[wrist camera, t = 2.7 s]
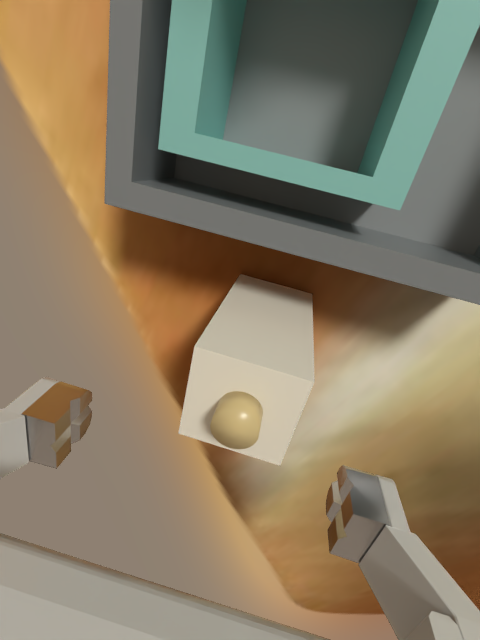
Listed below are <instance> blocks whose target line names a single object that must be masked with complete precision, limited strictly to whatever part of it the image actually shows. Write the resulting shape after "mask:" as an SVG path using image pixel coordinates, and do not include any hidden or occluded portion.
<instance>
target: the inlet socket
mask: <svg viewBox="0 0 480 640" xmlns="http://www.w3.org/2000/svg"><path fill="white" fill-rule="evenodd" d="M246 2H247V0H172V5H171V16H170V27H169V37H168V48H167V59H166V70H165V81H164V91H163V102H162V113H161V124H160V134H159V145H158V149H160V150H164V151H167V152H171V153H175V154H179V155H183V156H187V157H191V158H195V159H199V160H203V161H207V162H211V163H215V164H219V165H223V166H227V167H231V168H234V169H238V170H242V171H246V172H250V173H254V174H258V175H262V176H266V177H270V178H274V179H278V180H282V181H286V182H290V183H294V184H297V185H301V186H305V187H309V188H313V189H317V190H321V191H325V192H329V193H333V194H337V195H341V196H345V197H349V198H353V199H357V200H360V201H364V202H368V203H372V204H376V205H380V206H384V207H388V208H392V209H396V210H400V209H401V207H402V205H403V202H404V200H405V198H406V195H407V193H408V191H409V188H410V186H411V184H412V181H413V179H414V177H415V175H416V172H417V170H418V168H419V165H420V163H421V161H422V158H423V156H424V154H425V151H426V149H427V147H428V144H429V142H430V140H431V137H432V135H433V133H434V130H435V128H436V126H437V123H438V121H439V119H440V116H441V114H442V112H443V109H444V107H445V105H446V102H447V100H448V98H449V95H450V93H451V91H452V88H453V86H454V84H455V81H456V79H457V77H458V74H459V72H460V70H461V67H462V65H463V63H464V60H465V58H466V56H467V53H468V51H469V49H470V46H471V44H472V42H473V39H474V37H475V35H476V32H477V30H478V28H479V25H480V0H418V2H417V5H416V8H415V11H414V13H413V16H412V19H411V22H410V25H409V28H408V30H407V33H406V36H405V39H404V42H403V45H402V47H401V50H400V53H399V56H398V59H397V62H396V64H395V67H394V70H393V73H392V76H391V79H390V81H389V84H388V87H387V90H386V93H385V96H384V98H383V101H382V104H381V107H380V110H379V113H378V115H377V118H376V121H375V124H374V127H373V130H372V132H371V135H370V138H369V141H368V144H367V147H366V149H365V152H364V155H363V158H362V161H361V164H360V166H359V169H358V172H357V173H354V172H350V171H346V170H342V169H338V168H334V167H330V166H326V165H322V164H318V163H314V162H310V161H306V160H302V159H298V158H294V157H290V156H286V155H282V154H278V153H274V152H270V151H265V150H261V149H257V148H253V147H249V146H245V145H241V144H237V143H233V142H229V141H225V140H223V136H224V130H225V124H226V119H227V113H228V107H229V101H230V95H231V90H232V84H233V78H234V72H235V66H236V61H237V55H238V49H239V43H240V37H241V31H242V26H243V20H244V14H245V8H246Z"/></svg>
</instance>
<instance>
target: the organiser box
mask: <svg viewBox="0 0 480 640" xmlns="http://www.w3.org/2000/svg"><path fill="white" fill-rule="evenodd" d="M417 2H418V0H247V2H246V8H245V14H244V20H243V26H242V31H241V37H240V43H239V49H238V55H237V61H236V66H235V72H234V78H233V84H232V90H231V95H230V101H229V107H228V113H227V119H226V124H225V130H224V136H223V140H225V141H229V142H233V143H237V144H241V145H245V146H249V147H253V148H257V149H261V150H265V151H270V152H274V153H278V154H282V155H286V156H290V157H294V158H298V159H302V160H306V161H310V162H314V163H318V164H322V165H326V166H330V167H334V168H338V169H342V170H346V171H350V172H354V173H357V172H358V169H359V166H360V164H361V161H362V158H363V155H364V152H365V149H366V147H367V144H368V141H369V138H370V135H371V132H372V130H373V127H374V124H375V121H376V118H377V115H378V113H379V110H380V107H381V104H382V101H383V98H384V96H385V93H386V90H387V87H388V84H389V81H390V79H391V76H392V73H393V70H394V67H395V64H396V62H397V59H398V56H399V53H400V50H401V47H402V45H403V42H404V39H405V36H406V33H407V30H408V28H409V25H410V22H411V19H412V16H413V13H414V11H415V8H416V5H417ZM171 5H172V0H110V27H109V63H108V99H107V135H106V171H105V204H108V205H112V206H116V207H119V208H123V209H127V210H130V211H134V212H138V213H141V214H145V215H149V216H153V217H156V218H160V219H164V220H167V221H171V222H175V223H179V224H182V225H186V226H190V227H193V228H197V229H201V230H204V231H208V232H212V233H216V234H219V235H223V236H227V237H230V238H234V239H238V240H241V241H245V242H249V243H253V244H256V245H260V246H264V247H267V248H271V249H275V250H279V251H282V252H286V253H290V254H293V255H297V256H301V257H304V258H308V259H312V260H316V261H319V262H323V263H327V264H330V265H334V266H338V267H342V268H345V269H349V270H353V271H356V272H360V273H364V274H367V275H371V276H375V277H379V278H382V279H386V280H390V281H393V282H397V283H401V284H404V285H408V286H412V287H416V288H419V289H423V290H427V291H430V292H434V293H438V294H442V295H445V296H449V297H453V298H456V299H460V300H464V301H467V302H471V303H475V304H479V305H480V25H479V28H478V30H477V32H476V35H475V37H474V39H473V42H472V44H471V46H470V49H469V51H468V53H467V56H466V58H465V60H464V63H463V65H462V67H461V70H460V72H459V74H458V77H457V79H456V81H455V84H454V86H453V88H452V91H451V93H450V95H449V98H448V100H447V102H446V105H445V107H444V109H443V112H442V114H441V116H440V119H439V121H438V123H437V126H436V128H435V130H434V133H433V135H432V137H431V140H430V142H429V144H428V147H427V149H426V151H425V154H424V156H423V158H422V161H421V163H420V165H419V168H418V170H417V172H416V175H415V177H414V179H413V181H412V184H411V186H410V188H409V191H408V193H407V195H406V198H405V200H404V202H403V205H402V207H401V209H400V210H396V209H392V208H388V207H384V206H380V205H376V204H372V203H368V202H364V201H360V200H357V199H353V198H349V197H345V196H341V195H337V194H333V193H329V192H325V191H321V190H317V189H313V188H309V187H305V186H301V185H297V184H294V183H290V182H286V181H282V180H278V179H274V178H270V177H266V176H262V175H258V174H254V173H250V172H246V171H242V170H238V169H234V168H231V167H227V166H223V165H219V164H215V163H211V162H207V161H203V160H199V159H195V158H191V157H187V156H183V155H179V154H175V153H171V152H167V151H164V150H160V149H158V145H159V134H160V124H161V113H162V102H163V91H164V81H165V70H166V59H167V48H168V37H169V27H170V16H171Z"/></svg>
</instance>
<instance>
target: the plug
mask: <svg viewBox="0 0 480 640" xmlns="http://www.w3.org/2000/svg"><path fill="white" fill-rule="evenodd" d="M313 384H314V344H313V302H312V294H311V293H307V292H304V291H300V290H297V289H293V288H289V287H286V286H282V285H279V284H275V283H271V282H268V281H264V280H261V279H257V278H253V277H250V276H246V275H243V274H240V275H239V277H238V278H237V280H236V282H235V283H234V285H233V286H232V288H231V289H230V291H229V293H228V294H227V296H226V297H225V299H224V300H223V302H222V304H221V305H220V307H219V308H218V310H217V311H216V313H215V315H214V316H213V318H212V319H211V321H210V322H209V324H208V326H207V327H206V329H205V330H204V332H203V334H202V335H201V337H200V338H199V340H198V341H197V343H196V345H195V346H194V351H193V357H192V362H191V368H190V373H189V378H188V384H187V389H186V395H185V400H184V406H183V411H182V417H181V422H180V428H179V434H182V435H185V436H188V437H191V438H194V439H197V440H201V441H204V442H207V443H210V444H213V445H216V446H219V447H223V448H226V449H229V450H232V451H235V452H238V453H241V454H244V455H248V456H251V457H254V458H257V459H260V460H263V461H266V462H270V463H273V464H276V465H279V466H280V465H281V463H282V460H283V458H284V455H285V453H286V450H287V448H288V445H289V443H290V440H291V438H292V436H293V433H294V431H295V428H296V426H297V423H298V421H299V418H300V416H301V414H302V411H303V409H304V406H305V404H306V401H307V399H308V396H309V394H310V391H311V389H312V387H313Z"/></svg>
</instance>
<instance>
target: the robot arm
mask: <svg viewBox="0 0 480 640" xmlns="http://www.w3.org/2000/svg"><path fill="white" fill-rule="evenodd" d="M91 401H92V392H90V391H89V390H86V389H83V388H79V387H77V386H73V385H70V384H67V383H64V382H60V381H57V380H54V379H51V378H48V377H45V378H42V379H40V380H39V381H38V382H36V383H35V384H34V385H32V386H31V387H30V388H29V389H27V390H26V391H25V392H24V393H23V394H21V395H20V396H19V397H18V398H16V399H15V400H14V401H13V402H11V403H10V404H9V405H8V406H6V407H5V408H4V409H1V408H0V478H2V477H4V476H6V475H7V474H9V473H11V472H13V471H15V470H17V469H19V468H20V467H22V466H24V465H26V464H27V463H29V461H31V462H35V463H38V464H42V465H45V466H49V467H53V468H56V469H57V467H58V466H59V465H60V464H61V463H62V461H63V460H64V459H65V458H66V456H67V455H68V454H69V453H70V452H71V444H72V443H74V442H77V441H79V440H80V439H81V438H82V437H83V435H84V434H85V432H86V430H87V428H88V427H89V425H90V421H91V417H92V411H91V409H90V408H89V406H88V405H89V403H90V402H91ZM337 478H338V480H337V481H335V482H333V483H332V484H331V486H330V488H329V490H328V494H327V499H326V515H327V517H328V518H329V520H330V521H331V525H330V527H329V528H328V539H329V551H330V553H331V554H333V555H336V556H339V557H342V558H345V559H348V560H351V561H354V562H357V563H359V567H360V569H361V570H362V572H363V574H364V576H365V578H366V580H367V582H368V584H369V585H370V587H371V589H372V591H373V593H374V595H375V597H376V598H377V600H378V602H379V604H380V606H381V608H382V610H383V612H384V613H385V615H386V617H387V619H388V621H389V623H390V624H391V626H392V628H393V630H394V632H395V634H396V636H397V638H398V639H399V640H480V611H479V610H478V608H477V607H476V606H475V605H474V604H473V602H472V601H471V600H470V599H469V598H468V596H467V595H466V594H465V593H464V592H463V590H462V589H461V588H460V587H459V585H458V584H457V583H456V582H455V581H454V579H453V578H452V577H451V576H450V575H449V573H448V572H447V571H446V570H445V569H444V567H443V566H442V565H441V564H440V563H439V561H438V560H437V559H436V558H435V557H434V555H433V554H432V553H431V552H430V551H429V549H428V548H427V547H426V546H425V545H424V543H423V542H422V541H421V540H420V539H419V537H418V536H417V535H416V534H414V533H411V532H410V529H409V526H408V523H407V519H406V516H405V513H404V510H403V507H402V504H401V501H400V497H399V494H398V491H397V488H396V485H395V482H394V481H393V480H392V479H390V478H386V477H383V476H379V475H374V474H372V473H368V472H365V471H361V470H358V469H354V468H351V467H347V466H344V465H343V466H341V467H340V469H339V470H338V472H337ZM0 640H329V639H326V638H323V637H320V636H317V635H314V634H311V633H308V632H305V631H302V630H298V629H295V628H292V627H289V626H286V625H283V624H280V623H277V622H274V621H271V620H268V619H265V618H262V617H259V616H255V615H252V614H249V613H246V612H243V611H240V610H237V609H234V608H231V607H227V606H225V605H221V604H218V603H215V602H212V601H209V600H206V599H203V598H200V597H197V596H194V595H191V594H188V593H184V592H181V591H178V590H175V589H172V588H169V587H166V586H163V585H159V584H156V583H153V582H150V581H147V580H144V579H141V578H138V577H135V576H132V575H129V574H125V573H122V572H119V571H116V570H113V569H110V568H107V567H103V566H101V565H98V564H94V563H91V562H88V561H85V560H82V559H79V558H76V557H73V556H70V555H67V554H63V553H60V552H57V551H54V550H51V549H48V548H45V547H42V546H39V545H36V544H33V543H29V542H26V541H23V540H20V539H17V538H14V537H11V536H8V535H5V534H2V533H0Z"/></svg>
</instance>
